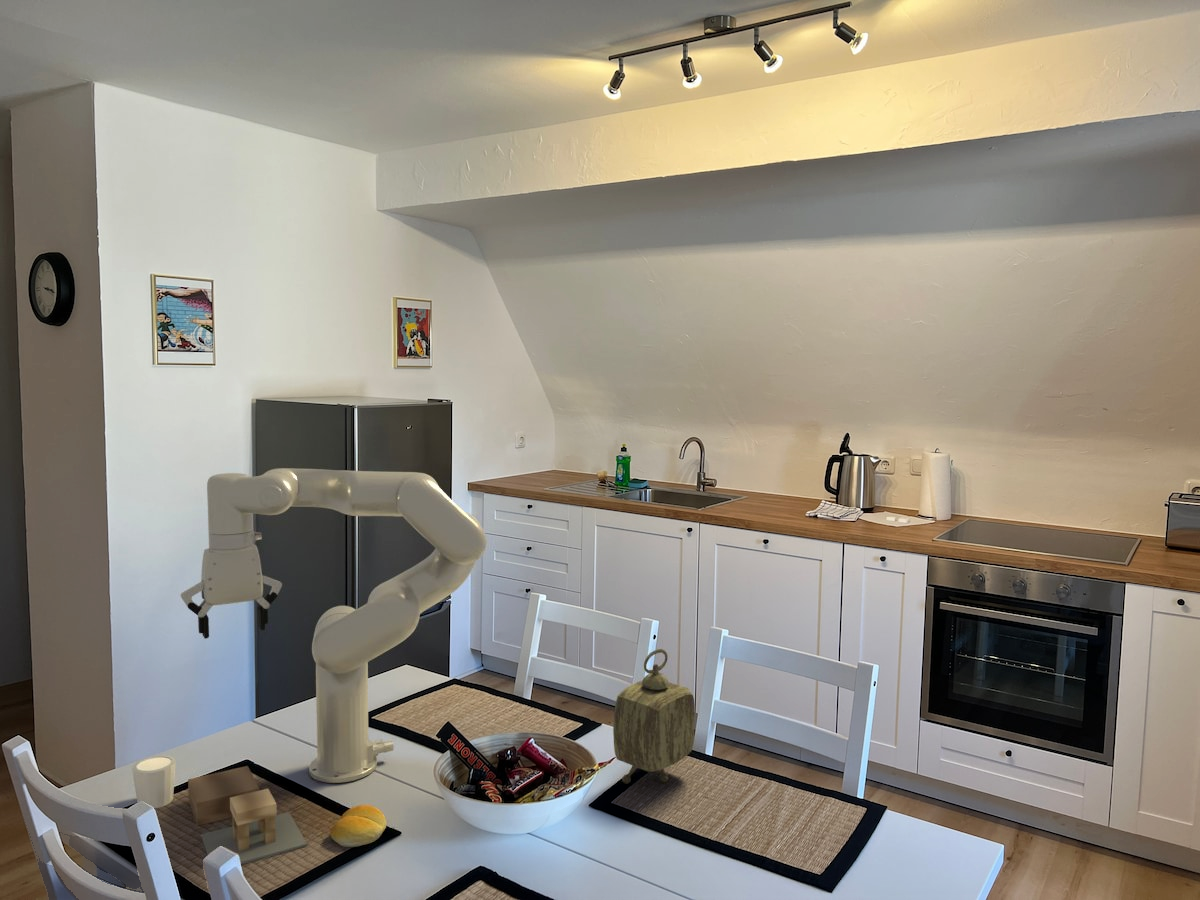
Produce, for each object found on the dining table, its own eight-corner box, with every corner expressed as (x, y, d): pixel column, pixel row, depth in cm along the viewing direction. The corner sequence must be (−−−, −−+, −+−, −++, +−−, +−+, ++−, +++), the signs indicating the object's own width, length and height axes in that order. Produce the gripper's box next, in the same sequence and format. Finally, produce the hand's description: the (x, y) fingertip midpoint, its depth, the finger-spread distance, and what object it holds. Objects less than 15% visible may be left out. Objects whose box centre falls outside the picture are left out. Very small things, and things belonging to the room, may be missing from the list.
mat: (289, 813, 150) (288, 811, 150) (307, 846, 140) (306, 843, 140) (201, 836, 142) (201, 834, 142) (213, 872, 132) (213, 870, 132)
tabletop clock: (659, 758, 173) (661, 636, 170) (696, 773, 167) (699, 646, 164) (612, 784, 162) (614, 654, 160) (650, 800, 156) (652, 665, 154)
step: (248, 786, 160) (247, 765, 159) (259, 810, 151) (259, 788, 151) (188, 800, 154) (188, 779, 154) (197, 825, 146) (196, 803, 145)
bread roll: (323, 846, 140) (322, 823, 140) (349, 818, 149) (348, 796, 149) (370, 852, 139) (369, 828, 138) (394, 824, 147) (393, 801, 147)
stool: (269, 825, 145) (268, 788, 145) (277, 841, 140) (276, 803, 140) (230, 835, 142) (229, 797, 141) (238, 852, 137) (236, 813, 136)
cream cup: (159, 813, 150) (157, 774, 149) (124, 808, 151) (123, 770, 151) (185, 794, 157) (184, 756, 156) (152, 790, 158) (150, 753, 157)
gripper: (275, 533, 166) (277, 620, 167) (176, 542, 157) (179, 634, 158) (285, 540, 160) (287, 630, 161) (182, 549, 150) (185, 645, 152)
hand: (233, 632), depth 160 cm, fingers open, 9 cm apart
